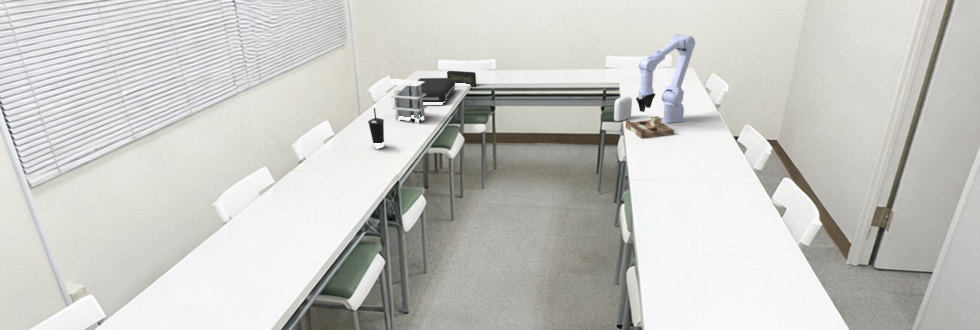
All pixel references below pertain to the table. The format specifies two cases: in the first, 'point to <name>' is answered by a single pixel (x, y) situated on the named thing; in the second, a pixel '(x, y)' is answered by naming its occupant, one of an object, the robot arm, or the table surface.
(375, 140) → the drinking cup
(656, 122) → the maple block
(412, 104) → the file organizer
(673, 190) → the table surface
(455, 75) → the nameplate
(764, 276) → the table surface
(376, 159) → the table surface
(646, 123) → the box
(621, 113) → the photo printer
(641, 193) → the table surface
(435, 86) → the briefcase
